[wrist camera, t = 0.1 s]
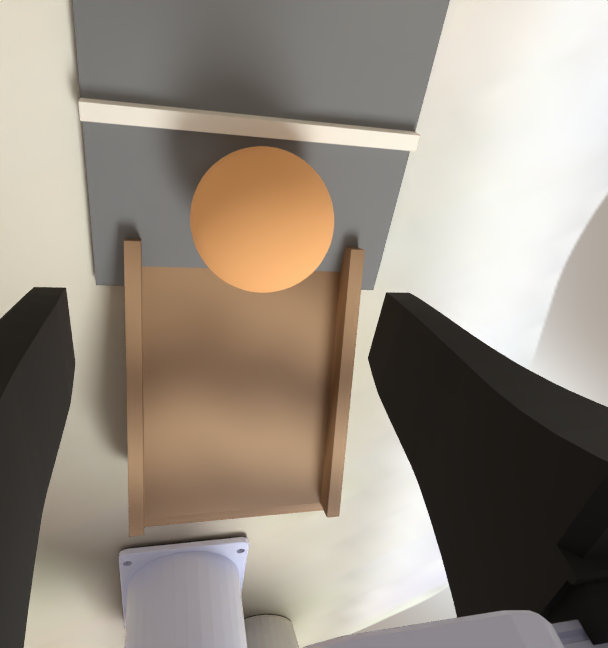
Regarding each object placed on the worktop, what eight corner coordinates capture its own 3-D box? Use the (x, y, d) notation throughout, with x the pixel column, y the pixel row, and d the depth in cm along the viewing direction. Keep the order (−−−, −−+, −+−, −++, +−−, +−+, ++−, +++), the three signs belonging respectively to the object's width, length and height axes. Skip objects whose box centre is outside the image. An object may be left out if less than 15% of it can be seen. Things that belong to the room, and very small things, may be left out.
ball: (305, 252, 23) (335, 320, 19) (185, 248, 21) (190, 320, 17) (326, 133, 20) (366, 184, 16) (188, 120, 19) (196, 172, 15)
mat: (370, 285, 25) (395, 328, 22) (97, 279, 22) (87, 329, 19) (462, -70, 17) (517, -69, 15) (61, -156, 14) (37, -174, 11)
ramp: (304, 440, 32) (331, 539, 27) (136, 450, 29) (130, 561, 24) (351, 228, 24) (402, 310, 19) (126, 217, 21) (115, 308, 16)
